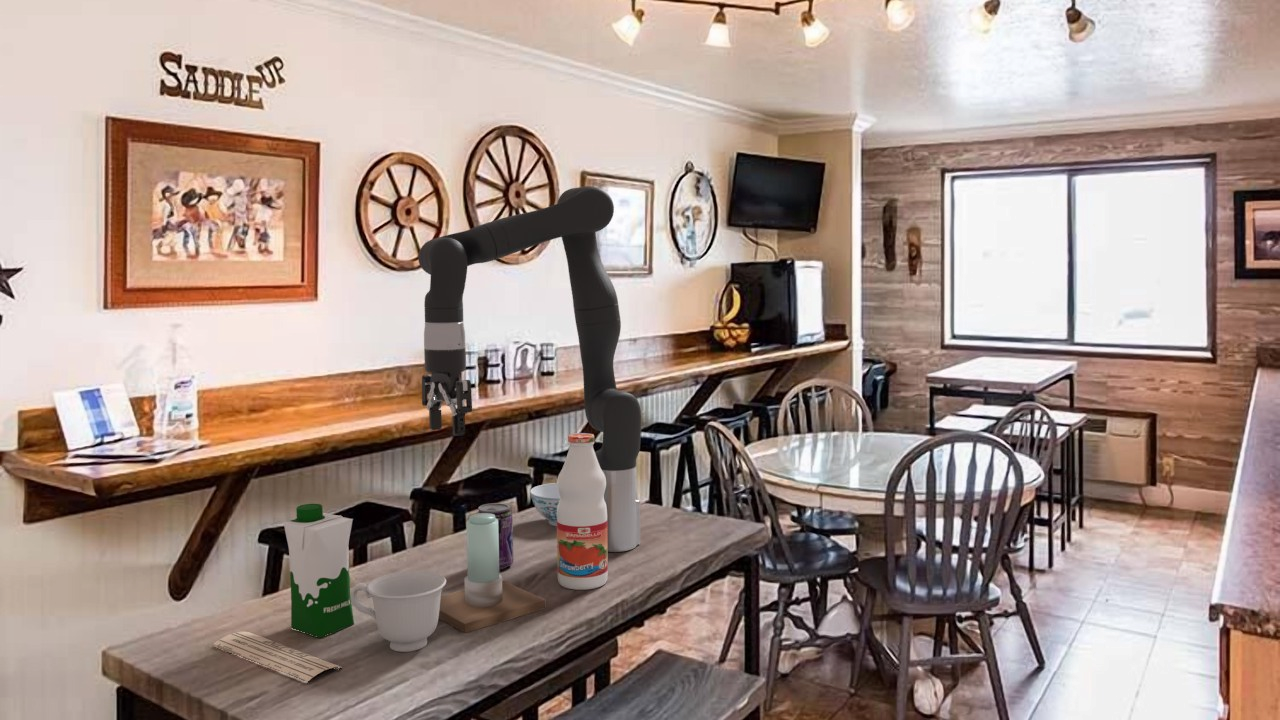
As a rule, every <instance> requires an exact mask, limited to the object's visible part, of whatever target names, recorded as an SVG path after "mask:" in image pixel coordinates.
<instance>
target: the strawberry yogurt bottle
mask: <svg viewBox="0 0 1280 720" xmlns="http://www.w3.org/2000/svg"><path fill="white" fill-rule="evenodd" d="M567 442H568V443H567V444H568V445H569V447H568V452H567V455H566V457H565V461H564V464H563V466H562V469H561V470H560V472H559V473H558V476H557V480H556V481H557V482H556V483H557V487H558V491H559V495H560V501H559V503H558V506H557V526H556V541H557V542H556V549H557V550H556V552H557V553H556V554H557V555H556V556H557V560H556V561H557V566H556V567H557V580H558V584H559V585H560V586H561V587H563V588H566V589H568V590H569V589H570V590H575V591H578V590H579V591H582V590H585V591H586V590H592V589H598V588H600V587H602V586H605V584H606V583H607V581H608V576H609V575H608V571H609V570H608V569H609V566H608V565H609V563H608V561H609V560H608V556H609V554H608V551H607V506H606V503H605V500H604V492H605V489H606V477H605V474H604V473H603V471H602V469H601V468H600V465H599V463H598V460H597V457H596V454H595V452H596V451H595V449H594V444H595V435H594V434H593V433H588V432H587V433H586V432H578V433H577V432H576V433H571V434H569V435H568V436H567Z"/></svg>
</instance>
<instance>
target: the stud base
mask: <svg viewBox="0 0 1280 720" xmlns="http://www.w3.org/2000/svg"><path fill="white" fill-rule="evenodd" d="M544 609H546V599H545V598H542V597H541V596H538V595H536V594H533V593H531V592H529V591H527V590H524V589H522V588H520V587H517V586H515V585H513V584H511V583H509V582H507V581H504V580H503V576H502V574H500V573H499V579H497V580H495V581H493V582H488V583H474V582H471V581H469V580H468V575H466V576H465V577H464V589H461V590H458V591H453V592H451V593H446V594H441V598H440V609H439V617H438V620H441V621H443V622H445V623H446V624H448V625H450V626H452V627H454V628H455V629H458V630H459V631H461V632H462V633H464V634H465V633H469V632H472V631H476V630H479V629H483V628H486V627H490V626H492V625H495V624H498V623H501V622H505V621H508V620H512V619H515V618H517V617H522V616H524V615H528V614H532V613H535V612H537V611H541V610H544Z"/></svg>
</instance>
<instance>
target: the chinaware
mask: <svg viewBox="0 0 1280 720" xmlns="http://www.w3.org/2000/svg"><path fill="white" fill-rule="evenodd" d="M529 490H530V491H529V492H530V493H529V494H530V497H531V500H532V503H533V505H534V507H535V509H536V511H537V512H538V513H539V514H540V515H541V516H542V517H543V518H545V519H547V521H548V524H549V525H551V526H555V527H557V506H558V503H559V501H560V495H559V491H558V487H557V482H551V483H545V484H544V483H543V484H541V485H537V486H534V487H532V488H531V489H529Z"/></svg>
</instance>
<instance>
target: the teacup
mask: <svg viewBox="0 0 1280 720" xmlns="http://www.w3.org/2000/svg"><path fill="white" fill-rule="evenodd" d="M446 584H447V579H446V578H445V576H443V575H441V573H437V572H433V571H427V570H405V571H402V570H401V571H397V572H391V573H387V574H384V575H381V576H379V577H376V578H374V579H372V580H371V581H370V582H369V583H368V584H367V583H365V582H357V583H356V584H355V585H353V587H352V588H351V589H350V599H351V604H352V607H354V608H355V610H357V611H359V612H360V613H363V614H366V615H368V616H370V617H371V618H373V620H375V623H376V626H377V629H378V632H379V633H380V635H381V636H382V638H384V640H387V641H389V643H390V644H389V648H390V649H391V650H392V651H395V652H399V653H400V652H401V653H402V652H403V653H406V652H407V653H408V652H415V651H417V650H421V649H423V648H424V647H426V646H427V644H428V637H430V636H431V635H432V634H433V633H434V632H435V631H436V628H437V626H438V622H439V618H438V617H439V609H440V598H441V596H442V591H443V587H445V586H446ZM358 591H363V592H364V593H365V597H366V598H367V599H370V598H371V599H372V604H373V608H370V606H366V605H364V604H363V603H361V601H360V600H359V599H358V596H357V593H358Z"/></svg>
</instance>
